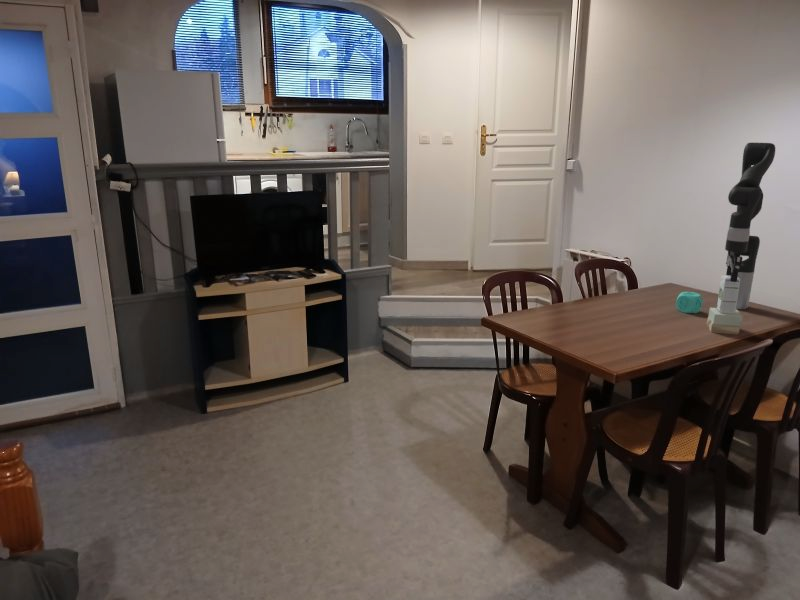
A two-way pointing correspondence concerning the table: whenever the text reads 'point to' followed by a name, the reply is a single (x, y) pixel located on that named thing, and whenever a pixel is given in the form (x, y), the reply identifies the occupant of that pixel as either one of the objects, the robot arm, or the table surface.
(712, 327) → the tower bottom
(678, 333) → the table surface
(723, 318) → the tower top
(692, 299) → the decorative dice
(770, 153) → the robot arm
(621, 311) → the table surface
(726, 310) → the syrup box
